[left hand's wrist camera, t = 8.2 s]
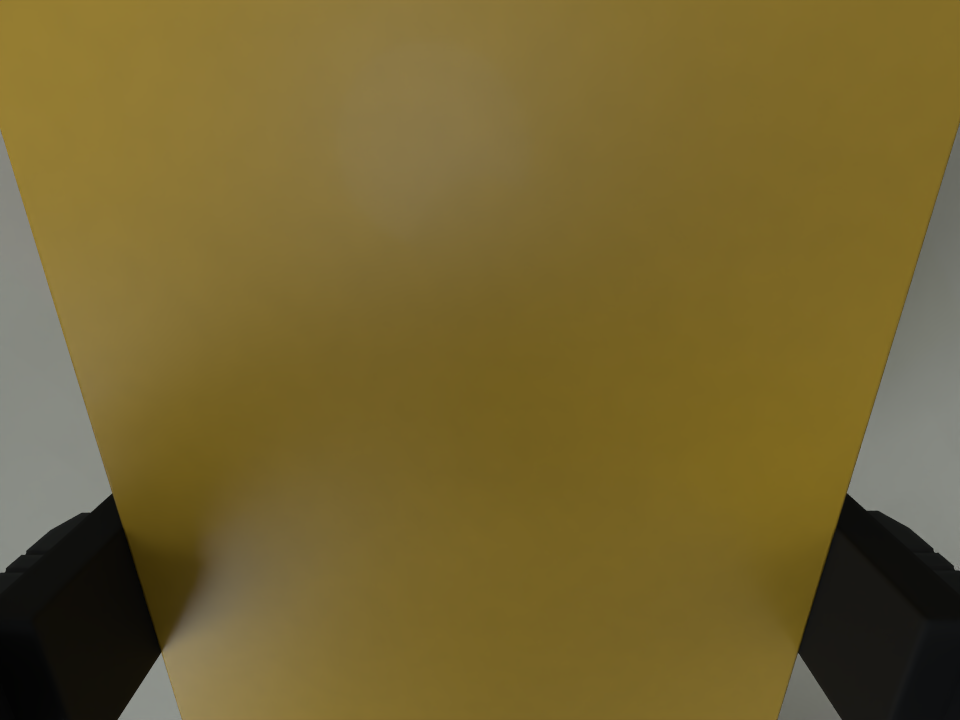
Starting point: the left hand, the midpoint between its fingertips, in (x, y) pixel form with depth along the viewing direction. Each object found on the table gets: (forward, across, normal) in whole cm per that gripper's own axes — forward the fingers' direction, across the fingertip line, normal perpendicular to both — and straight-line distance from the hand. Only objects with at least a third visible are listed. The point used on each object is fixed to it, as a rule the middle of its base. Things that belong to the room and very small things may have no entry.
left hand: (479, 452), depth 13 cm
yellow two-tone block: (+3, 0, -5) cm, 6 cm away
